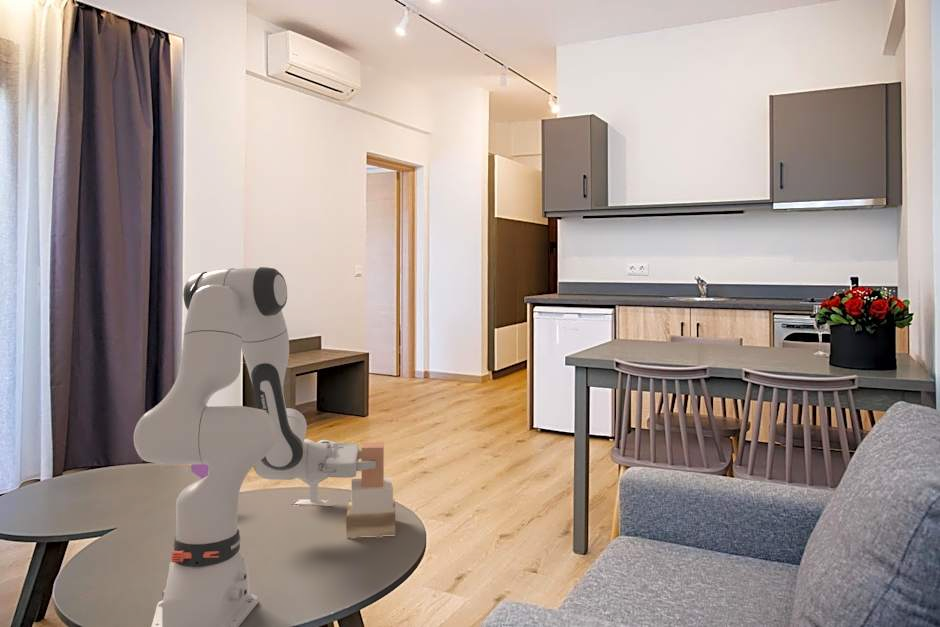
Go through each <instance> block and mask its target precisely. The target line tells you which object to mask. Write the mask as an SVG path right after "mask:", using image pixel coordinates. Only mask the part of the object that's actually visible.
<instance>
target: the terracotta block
mask: <svg viewBox="0 0 940 627" xmlns="http://www.w3.org/2000/svg"><path fill="white" fill-rule="evenodd" d="M384 445H385V444H384V442H362V445H361V450H362V459H361V462H362V461H369V460H375V461H376V468H374V469H366V470H363V471H361V479H362V487H383V483H384V478H385V476H384V475H385V474H384V473H385V468H384V464H385V460H384V458H385V451H384V449H385V448H384V447H385V446H384Z"/></svg>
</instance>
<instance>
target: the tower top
mask: <svg viewBox="0 0 940 627" xmlns="http://www.w3.org/2000/svg"><path fill="white" fill-rule="evenodd" d="M393 499H394V487H393V484H392V479H391V477H388V476H387V477H386V476H384V483H383V487H362V478H351V500H352V514H365V513H383V512H393Z"/></svg>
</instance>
